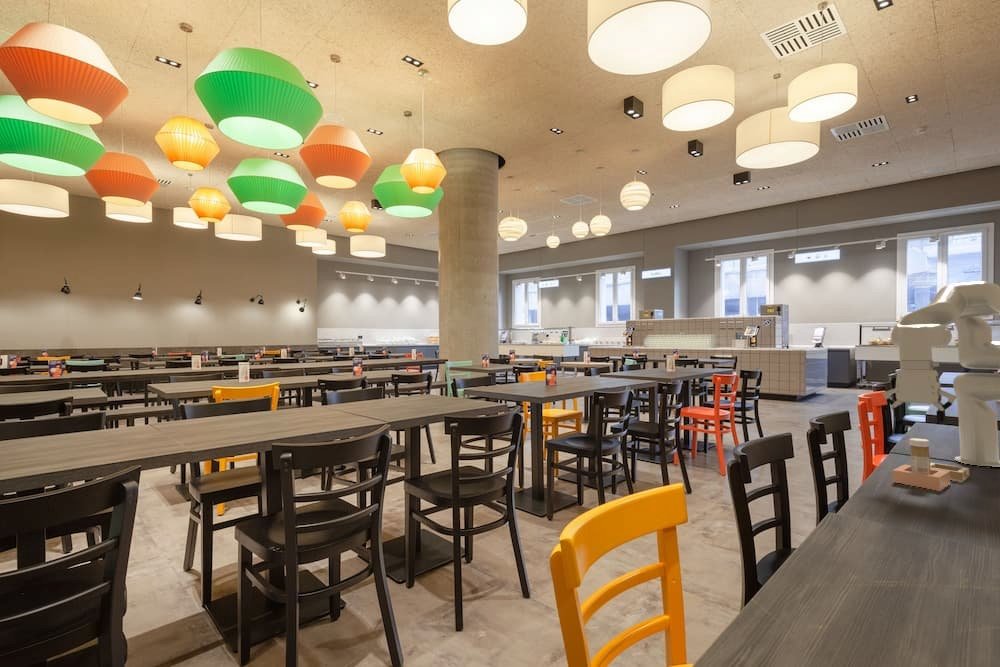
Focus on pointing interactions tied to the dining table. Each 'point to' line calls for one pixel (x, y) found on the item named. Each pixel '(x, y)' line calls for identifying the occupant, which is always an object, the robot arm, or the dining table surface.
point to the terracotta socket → (922, 478)
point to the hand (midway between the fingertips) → (919, 421)
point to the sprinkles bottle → (920, 455)
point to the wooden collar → (953, 471)
